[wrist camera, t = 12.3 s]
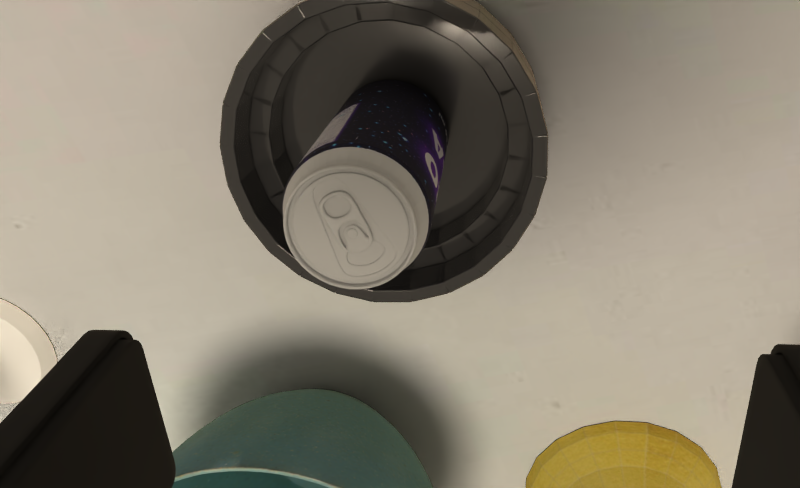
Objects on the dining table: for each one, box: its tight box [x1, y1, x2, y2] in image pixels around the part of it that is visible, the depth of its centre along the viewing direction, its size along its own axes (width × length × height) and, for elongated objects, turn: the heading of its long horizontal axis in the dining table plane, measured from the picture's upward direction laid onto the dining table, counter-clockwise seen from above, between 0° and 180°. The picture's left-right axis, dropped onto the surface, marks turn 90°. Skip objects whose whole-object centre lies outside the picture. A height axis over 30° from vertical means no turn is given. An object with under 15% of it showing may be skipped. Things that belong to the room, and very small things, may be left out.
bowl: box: [220, 0, 548, 302], centre depth 34 cm, size 15×15×5 cm
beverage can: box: [282, 80, 448, 289], centre depth 30 cm, size 6×6×12 cm
